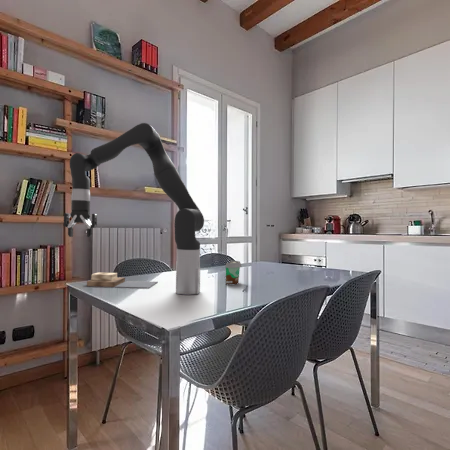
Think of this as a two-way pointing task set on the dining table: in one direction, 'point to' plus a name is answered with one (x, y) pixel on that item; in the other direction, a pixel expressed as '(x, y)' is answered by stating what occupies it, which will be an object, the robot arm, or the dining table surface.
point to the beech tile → (104, 276)
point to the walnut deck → (106, 282)
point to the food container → (232, 272)
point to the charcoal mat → (136, 284)
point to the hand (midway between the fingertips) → (80, 236)
